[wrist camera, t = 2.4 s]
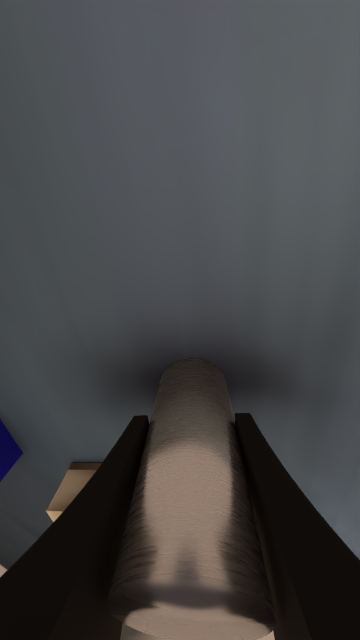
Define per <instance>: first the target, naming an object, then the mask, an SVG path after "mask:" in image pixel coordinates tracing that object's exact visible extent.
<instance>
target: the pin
mask: <svg viewBox="0 0 360 640" xmlns="http://www.w3.org/2000/svg"><path fill="white" fill-rule="evenodd" d="M107 606H108V609H109V611H110V612H111V613H112V615H113V616H114V617H116V618H117V619H118V620H119V621H121V622H122V623H124V624H126V625H128V626H130V627H132V628H134V629H136V630H139V631H141V632H144V633H147V634H150V635H153V636H157V637H161V638H165V639H169V640H256V639H259V638H262V637H264V636H266V635H268V634H269V633H270V632H272V631H273V629H274V628H275V626H276V616H275V612H274V607H273V602H272V597H271V593H270V588H269V583H268V578H267V574H266V569H265V564H264V559H263V555H262V550H261V545H260V540H259V535H258V531H257V526H256V521H255V516H254V512H253V507H252V502H251V497H250V493H249V488H248V483H247V478H246V474H245V469H244V464H243V459H242V455H241V450H240V446H239V441H238V436H237V431H236V426H235V421H234V417H233V412H232V407H231V402H230V398H229V393H228V388H227V383H226V379H225V377H224V375H223V373H222V372H221V371H220V370H219V369H218V368H217V367H216V366H215V365H213V364H212V363H210V362H207V361H204V360H201V359H184V360H180V361H177V362H175V363H173V364H171V365H170V366H169V367H168V368H166V370H165V371H164V372H163V374H162V376H161V379H160V383H159V387H158V391H157V396H156V400H155V404H154V408H153V412H152V417H151V421H150V425H149V429H148V433H147V438H146V442H145V446H144V450H143V454H142V459H141V463H140V467H139V471H138V475H137V480H136V484H135V488H134V492H133V496H132V500H131V505H130V509H129V513H128V517H127V521H126V526H125V530H124V534H123V538H122V542H121V547H120V551H119V555H118V559H117V563H116V568H115V572H114V576H113V580H112V584H111V589H110V593H109V597H108V601H107Z"/></svg>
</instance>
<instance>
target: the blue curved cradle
mask: <svg viewBox="0 0 360 640" xmlns="http://www.w3.org/2000/svg"><path fill="white" fill-rule="evenodd" d="M22 454H23V452H22V451H21V449H20V448H19V447H18V445H17V444H16V442H15V441H14V439H13V438H12V436H11V435H10V433H9V432H8V430H7V429H6V427H5V426H4V424H3V423H2V421H1V420H0V482H1V480H2V479H3V478H4V476H5V475H6V474H7V473H8V471H9V470H10V469H11V468H12V466H13V465H14V464H15V462H16V461H17V460H18V459H19V457H20V456H21V455H22Z"/></svg>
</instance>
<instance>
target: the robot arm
mask: <svg viewBox="0 0 360 640" xmlns="http://www.w3.org/2000/svg"><path fill="white" fill-rule="evenodd" d="M235 426H236V431H237V436H238V441H239V446H240V450H241V455H242V459H243V464H244V469H245V474H246V478H247V483H248V488H249V493H250V497H251V502H252V507H253V512H254V516H255V521H256V526H257V531H258V535H259V540H260V545H261V550H262V555H263V559H264V564H265V569H266V574H267V578H268V583H269V588H270V593H271V597H272V602H273V607H274V612H275V616H276V626H275V628H274V629H273V631H274V637H275V640H360V560H359V559H358V558H357V557H356V555H355V554H354V553H353V552H352V551H351V550H350V549H349V548H348V546H347V545H346V544H345V543H344V542H343V541H342V539H341V538H340V537H339V536H338V535H337V534H336V533H335V531H334V530H333V529H332V528H331V527H330V525H329V524H328V523H327V522H326V521H325V519H324V518H323V517H322V516H321V515H320V513H319V512H318V511H317V510H316V509H315V507H314V506H313V505H312V503H311V502H310V501H309V500H308V498H307V497H306V496H305V495H304V493H303V492H302V491H301V489H300V488H299V487H298V485H297V484H296V483H295V481H294V480H293V479H292V477H291V476H290V475H289V473H288V472H287V470H286V469H285V468H284V466H283V465H282V463H281V462H280V460H279V459H278V458H277V456H276V455H275V453H274V452H273V450H272V449H271V447H270V446H269V444H268V443H267V441H266V439H265V438H264V436H263V435H262V433H261V431H260V430H259V428H258V426H257V425H256V423H255V421H254V419H253V417H252V415H251V414H249V413H235ZM148 429H149V421H148V416H147V415H142V416H134V417H133V418H132V420H131V421H130V423H129V425H128V426H127V428H126V429H125V431H124V432H123V434H122V435H121V437H120V438H119V440H118V441H117V443H116V444H115V446H114V447H113V448H112V450H111V451H110V453H109V454H108V455H107V457H106V458H105V460H104V461H103V462H102V464H101V465H100V466H99V468H98V469H97V470H96V472H95V473H94V474H93V476H92V477H91V478H90V479H89V481H88V482H87V483H86V485H85V486H84V487H83V488H82V490H81V491H80V492H79V493H78V495H77V496H76V497H75V498H74V499H73V501H72V502H71V503H70V504H69V505H68V506H67V508H66V509H65V510H64V511H63V512H62V513H61V515H60V516H59V517H58V518H57V519H56V520H55V521H54V522H53V523H52V524H51V526H50V527H49V528H48V529H47V530H46V531H45V532H44V533H43V534H42V535H41V537H40V538H39V539H38V540H37V541H36V542H35V543H34V544H33V545H32V546H31V547H30V548H29V549H28V550H27V551H26V552H25V553H24V554H23V555H22V556H21V557H20V558H19V559H18V560H17V561H16V562H15V563H14V564H13V565H12V566H11V567H10V568H9V569H8V570H7V571H6V572H5V573H4V574H3V575H2V576H1V577H0V640H120V636H121V629H122V622H121V621H119V620H118V619H117V618H116V617H114V616H113V615H112V613H111V612H110V611H109V609H108V606H107V601H108V597H109V593H110V589H111V584H112V580H113V576H114V572H115V568H116V563H117V559H118V555H119V551H120V547H121V542H122V538H123V534H124V530H125V526H126V521H127V517H128V513H129V509H130V505H131V500H132V496H133V492H134V488H135V484H136V480H137V475H138V471H139V467H140V463H141V459H142V454H143V450H144V446H145V442H146V438H147V433H148Z"/></svg>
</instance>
